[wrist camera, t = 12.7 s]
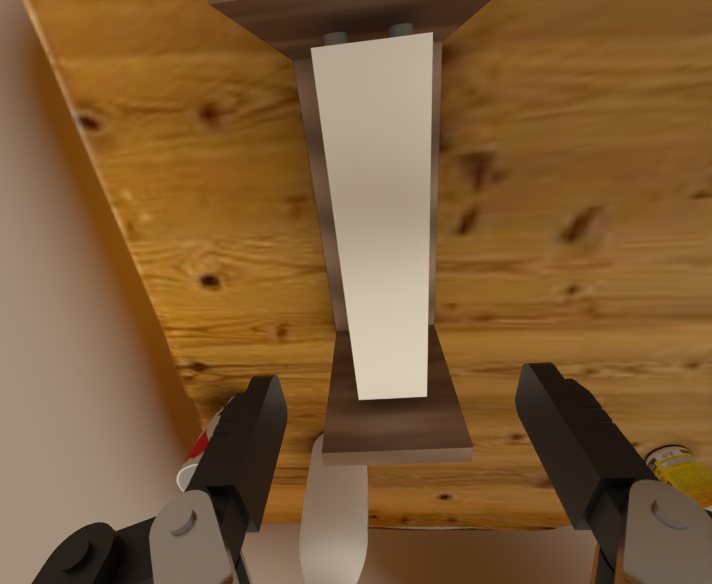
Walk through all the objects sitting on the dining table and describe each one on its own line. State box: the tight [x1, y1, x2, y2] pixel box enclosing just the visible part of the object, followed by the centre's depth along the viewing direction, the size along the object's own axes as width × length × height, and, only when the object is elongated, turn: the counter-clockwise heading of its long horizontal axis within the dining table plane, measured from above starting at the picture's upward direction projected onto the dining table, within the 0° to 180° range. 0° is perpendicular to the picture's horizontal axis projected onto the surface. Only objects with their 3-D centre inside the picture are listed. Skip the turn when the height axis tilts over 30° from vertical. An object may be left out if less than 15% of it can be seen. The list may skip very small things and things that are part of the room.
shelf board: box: [311, 32, 433, 400], centre depth 19 cm, size 21×5×3 cm, turn 6°
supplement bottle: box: [646, 446, 712, 511], centre depth 40 cm, size 6×6×10 cm
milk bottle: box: [299, 433, 368, 584], centre depth 36 cm, size 8×8×20 cm
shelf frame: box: [208, 0, 490, 467], centre depth 22 cm, size 26×10×15 cm, turn 6°
